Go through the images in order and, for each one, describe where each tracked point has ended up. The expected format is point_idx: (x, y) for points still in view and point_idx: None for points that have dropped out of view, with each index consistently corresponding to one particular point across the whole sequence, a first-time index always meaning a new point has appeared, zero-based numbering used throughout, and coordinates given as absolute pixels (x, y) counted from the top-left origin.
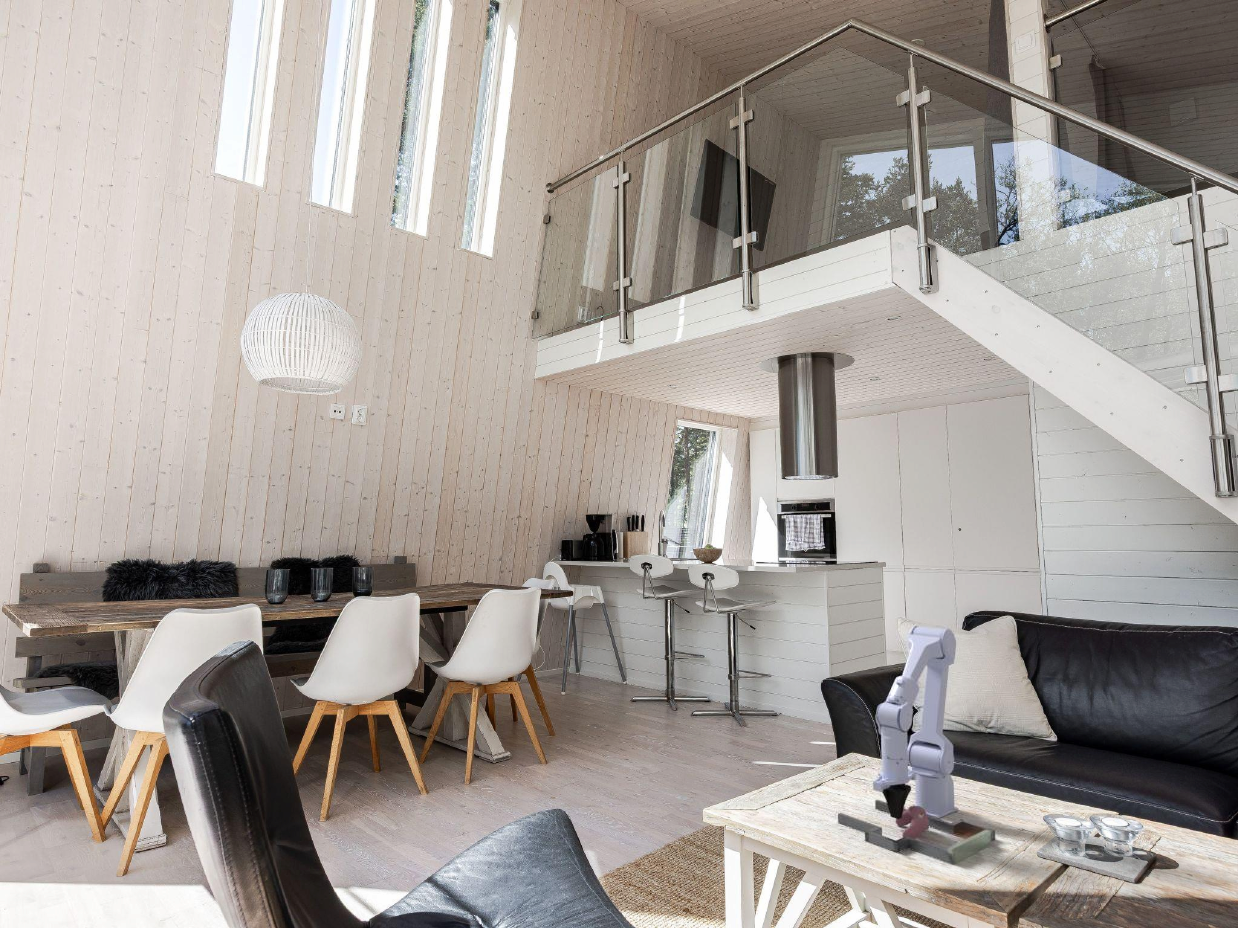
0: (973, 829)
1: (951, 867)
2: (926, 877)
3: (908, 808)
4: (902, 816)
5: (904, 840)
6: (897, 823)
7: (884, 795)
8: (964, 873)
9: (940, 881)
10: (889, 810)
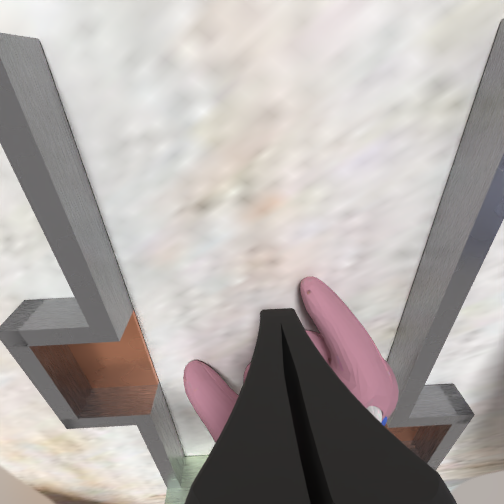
0: (430, 428)
1: None
2: (53, 469)
3: (352, 382)
4: (319, 330)
5: (113, 424)
6: (300, 287)
7: (224, 426)
8: (158, 481)
9: (72, 481)
10: (259, 333)
